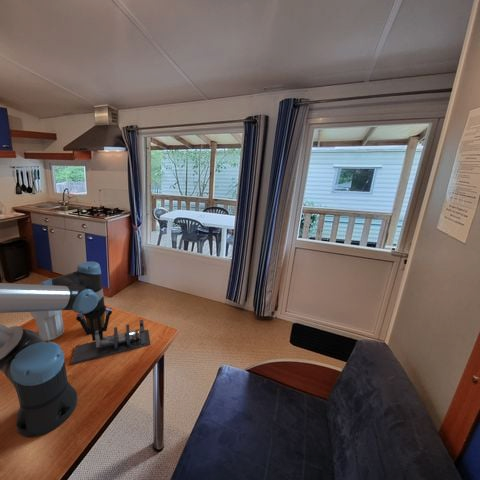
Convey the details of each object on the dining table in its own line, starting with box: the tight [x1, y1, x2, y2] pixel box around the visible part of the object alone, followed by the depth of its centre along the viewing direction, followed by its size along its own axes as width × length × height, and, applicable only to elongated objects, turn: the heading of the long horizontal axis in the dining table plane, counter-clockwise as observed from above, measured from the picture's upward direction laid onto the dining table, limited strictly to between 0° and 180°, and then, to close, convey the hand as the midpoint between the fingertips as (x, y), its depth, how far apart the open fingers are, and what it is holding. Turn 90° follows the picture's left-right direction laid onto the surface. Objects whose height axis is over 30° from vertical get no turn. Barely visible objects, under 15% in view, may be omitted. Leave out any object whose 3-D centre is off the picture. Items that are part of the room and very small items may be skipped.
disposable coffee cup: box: [84, 312, 106, 331], centre depth 110 cm, size 10×10×12 cm
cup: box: [30, 310, 65, 343], centre depth 102 cm, size 11×11×17 cm
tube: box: [100, 328, 140, 348], centre depth 102 cm, size 16×4×4 cm, turn 117°
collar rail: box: [71, 319, 151, 365], centre depth 100 cm, size 10×30×8 cm, turn 117°
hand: (98, 345), depth 98 cm, fingers closed
